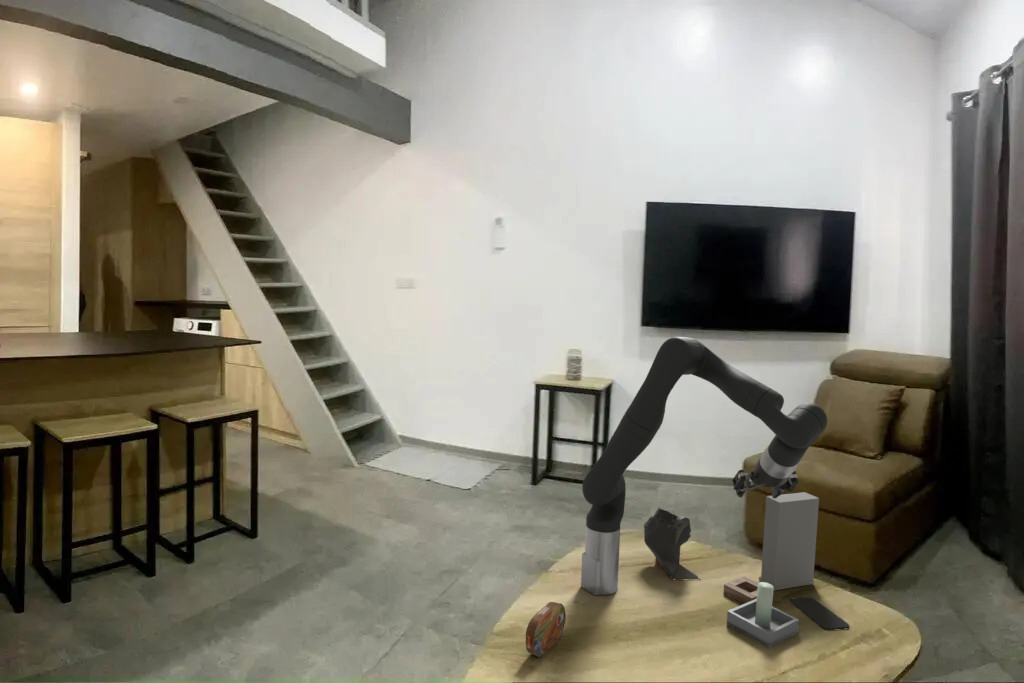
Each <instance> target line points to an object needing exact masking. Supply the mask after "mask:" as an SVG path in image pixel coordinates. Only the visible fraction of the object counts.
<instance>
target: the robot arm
mask: <svg viewBox="0 0 1024 683" xmlns="http://www.w3.org/2000/svg"><path fill="white" fill-rule="evenodd" d="M683 375H684V376H687V375H692V376H695V377H698V378H700V379H702V380H704V381H706V382H709V383H710V384H712V385H714V386H715V387H716V388H718V389H719V390H720V391H721V392H722V393H723V394H724V395H725V396H726V397H727V398H728V399H729V400H730V401H732V403H733V404H735V405H737V406H738V407H740V408H741V409H743V410H745V411H746V412H748V413H749V414H751V415H753V416H755V417H757V419H759V420H761V422H763V424H765V425H766V427H768V429H769V430H770V431H772V432H773V434H774V435H775V436H774V437H773V438H772V440H771V441H770V443H769V445H767V446H766V448H765V449H764V451H762V454H761V455H760V457H759V459H758V460H757V461H756V463H755V466H754V469H753V470H752V471H750V472H745V471H744V470H745V469H740V470H738V471H737V473H736V474H735V475H734V477H733V478H732V480H731V482H732V485H733V490H734V491H735V493H736V496H737V497H738V498H743V496H744V494H745V493H746V491H749V490H751V491H754V490H756V489H759V488H771V490H770V493H771V496H772V497H773V498H777V497H778V496H780V495H782V493H785V491H787V492H789V493H791V492H793V491H794V490H795V488H796V486H797V484H798V483H799V478H798V475H797V471H795V470H796V469H797V466H798V465H799V463H800V462H801V460H802V458H803V457H804V456H805V454H806V452H807V450H808V449H809V448H810V446H812V444H814V443H815V441H816V440H817V439H819V437H820V436H821V435H822V434H823V432H825V430H826V428H827V427H828V417H827V413H826V412H825V410H824V409H823V408H822V407H821V406H820V405H818V404H816V403H812V402H811V403H810V402H803V403H800V404H799V405H797V406H796V407H795V408H794V409H793V410H792V411H791V412H790V413H789V414H787V415H786V414H785V413H783V412H782V411H781V410H782V408H783V406H784V404H785V399H784V396H783V395H782V394H780V393H779V392H778V391H776V390H774V389H773V388H771V387H770V386H767V385H766V384H764V383H763V382H760V381H759V380H756V379H755V378H753V377H751V376H749V375H747V374H746V373H744V372H742V371H741V370H739V369H737V368H736V367H734V366H733V365H731V364H729V363H728V362H726V361H725V360H723V359H722V358H720V356H718V355H717V354H716V353H715V352H714V351H712V350H711V349H710V348H709V347H707V346H706V345H705V344H704V343H702V342H701V341H699V340H698V339H696V338H694V337H687V336H672V337H670V338H668V339H667V340H665V341H664V342H663V343H661V346H660V347H659V349H658V350H657V353H656V355H655V357H654V360H653V362H652V364H651V367H650V369H649V370H648V373H647V375H646V377H645V379H644V381H643V383H642V385H641V386H640V387H639V389H638V391H637V392H636V394H635V397H634V398H633V399H632V401H631V403H630V405H629V406H628V407H627V409H626V411H625V412H624V414H623V416H622V417H621V419H620V421H619V423H618V425H617V427H616V429H615V431H614V432H613V433H612V436H611V437H610V440H608V443H607V445H606V447H605V449H604V451H603V452H602V454H600V455H601V456H600V457H599V458H598V460H597V461H596V462H595V464H594V465H593V466H592V468H590V470H588V473H587V474H586V475H585V476H584V479H583V481H582V486H581V487H582V490H581V491H582V495H583V498H584V499H585V501H586V502H587V503H588V504H590V505H592V506H591V508H590V510H589V511H588V513H587V515H586V517H585V519H586V520H585V542H584V543H585V544H584V546H585V547H584V552H582V554H581V572H580V573H581V574H580V575H581V578H580V581H581V582H580V587H581V588H583V589H584V590H586V591H588V592H590V593H591V594H592V595H594V596H599V595H600V596H604V595H605V596H607V595H613V594H614V593H616V592H617V591H618V589H619V568H620V567H619V565H620V544H621V523H622V519H623V518H624V513H625V506H626V505H625V503H626V492H627V491H626V490H627V489H626V480H625V477H624V473H625V471H626V470H627V468H628V467H629V466H630V465H631V464H632V463H633V462H634V461H635V460H636V459H637V458H638V457H639V456H640V455H642V453H643V452H644V451H645V450H646V449H647V447H649V445H650V443H652V441H653V439H654V438H655V437H656V435H657V433H658V431H659V430H660V428H661V426H662V424H663V421H664V419H665V413H666V407H667V406H666V404H667V400H668V398H669V395H670V393H671V392H672V390H673V388H674V387H675V385H676V384H677V382H678V381H679V380H680V379H681V377H683ZM745 484H746V485H745Z"/></svg>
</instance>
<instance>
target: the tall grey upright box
mask: <svg viewBox="0 0 1024 683" xmlns="http://www.w3.org/2000/svg"><path fill="white" fill-rule="evenodd" d="M819 506H820V498H819V497H818V496H815V495H813V494H810V493H808V492H805V491H803V492H796V493H795V492H793V493H785V494H781V495H780V496H778V497H777V498H773V497H772V495H767V496H766V497H765V511H764V522H763V524H764V526H763V527H764V528H763V541H762V542H763V543H762V554H761V555H762V558H761V571H760V573H761V574H760V576H759V577H758V581H759V583H760V582H765V583H769V584H771V585H772V586H773V587H774V589H773V592H774V591H775V592H776V591H778V590H784V589H790V588H796V587H802V586H809V585H810V586H811V585H814V584H815V580H814V574H815V562H816V561H815V560H816V550H817V549H816V546H817V534H818V532H817V531H818V521H819Z"/></svg>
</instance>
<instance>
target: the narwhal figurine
mask: <svg viewBox="0 0 1024 683" xmlns="http://www.w3.org/2000/svg"><path fill="white" fill-rule="evenodd" d="M643 528H644V529H643V530H644V531H643V533H644V543H645V545H646V546H647V548H648V549H649V550H650V552H652V554H653V555H654V557H655V559H654V561H655V562H654V564H655V566H660V567H661V568H663V569H664V570H665V571H666V573H667V574H668V575H669V576H670V578H671V577H672V578H671V579H672V580H673V579H699V578H700V577H699V578H698V576H699V575H698V576H697V574H696V573H695V572H694V571H691V570H690V569H688V568H687V567H685V566H683V565H682V564H680V558H681V556H680V555H681V547H682V546H683V545H684V544H686V543H687V542H688V541H689V539H690V538H691V536H692V535H691V531H692V528H691V522H690V518H688V517H686V516H684V515H683V516H681V515H677V514H674V513H672V512H670V511H668V510H666V509H663V508H662V507H658V508H657V510H656V511H655V512H654V514H653V515H652V514H651V515H650V516H649V518H648V519H647V520H646V521H645V523H644V524H643Z"/></svg>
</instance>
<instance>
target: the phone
mask: <svg viewBox="0 0 1024 683" xmlns="http://www.w3.org/2000/svg"><path fill="white" fill-rule="evenodd" d="M788 602H789V603H790V604H791V605H792V606H794V607H795V608H796V609H798V610H799V611H800V612H802V614H804V615H805V616H806V617H807V618H808V619H810V620H811V621H812V622H813V623H815V624H816V625H817V626H818V627H820V628H821V629H822V630H824V631H836V630H835V629H840V630H846V629H845V628H848V629H849V628H850V624H849V623H847V622H846V621H845V620H844V619H843V618H841V617H840V616H838V615H837V614H835V613H834V612H833V611H832V610H830V609H829V608H828V607H826V606H824V605H823V603H821V602H819V601H818V600H816V599H815V598H814V597H811V596H803V597H799V596H798V597H789V598H788Z"/></svg>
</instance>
